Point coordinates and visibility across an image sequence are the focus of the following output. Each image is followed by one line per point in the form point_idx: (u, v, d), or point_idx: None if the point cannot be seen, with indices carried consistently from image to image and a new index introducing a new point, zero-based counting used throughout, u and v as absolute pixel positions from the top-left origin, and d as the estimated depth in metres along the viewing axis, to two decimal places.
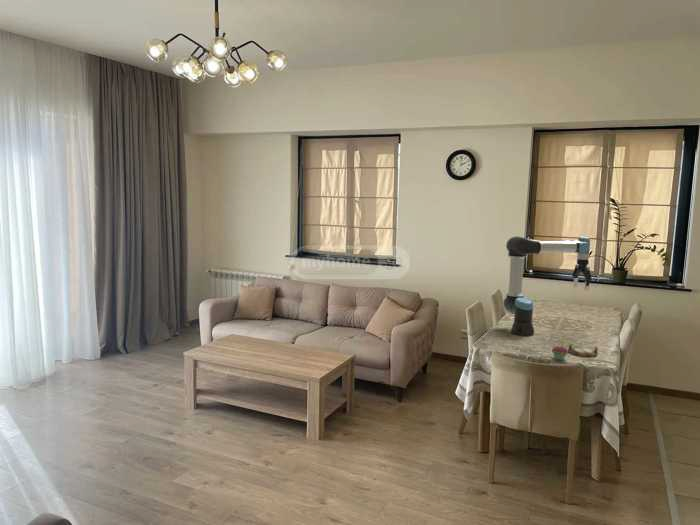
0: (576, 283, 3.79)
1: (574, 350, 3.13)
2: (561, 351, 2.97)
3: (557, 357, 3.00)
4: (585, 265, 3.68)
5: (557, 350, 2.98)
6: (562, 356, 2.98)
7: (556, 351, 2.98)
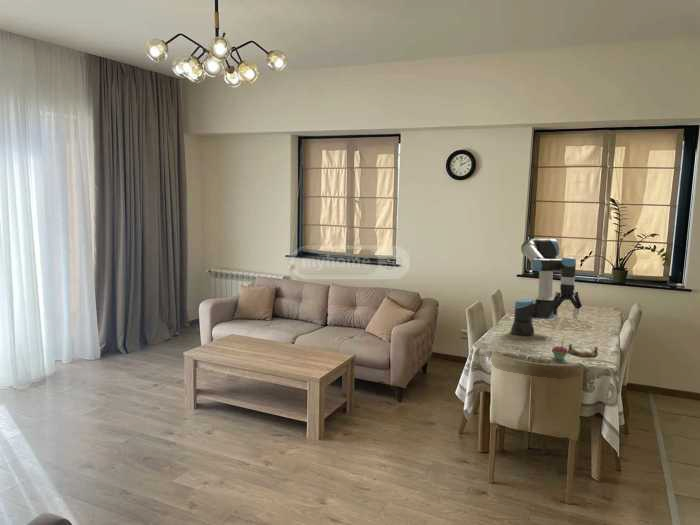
0: (575, 314, 3.10)
1: (574, 350, 3.13)
2: (561, 351, 2.97)
3: (557, 357, 3.00)
4: (561, 291, 3.06)
5: (557, 350, 2.98)
6: (562, 356, 2.98)
7: (556, 351, 2.98)
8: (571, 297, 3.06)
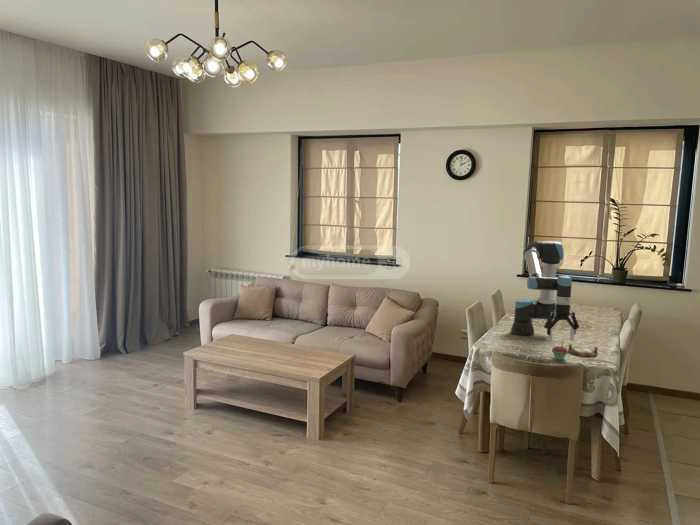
0: (572, 335, 3.00)
1: (574, 350, 3.13)
2: (561, 351, 2.97)
3: (557, 357, 3.00)
4: (556, 310, 2.97)
5: (557, 350, 2.98)
6: (562, 356, 2.98)
7: (556, 351, 2.98)
8: (567, 317, 2.97)
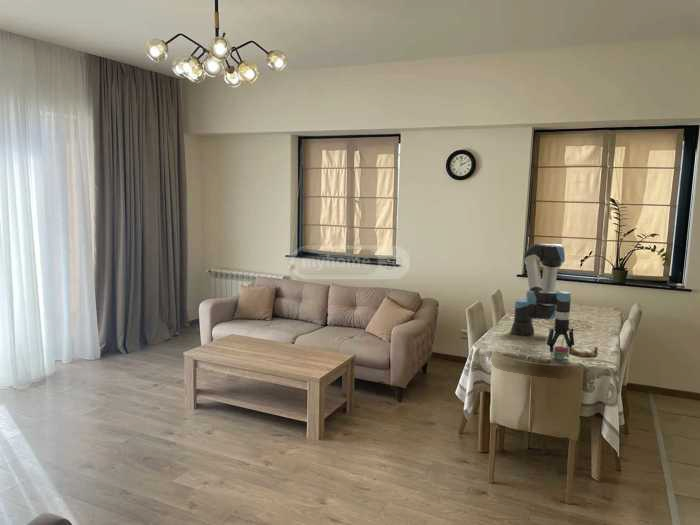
0: None
1: (574, 350, 3.13)
2: (561, 351, 2.97)
3: (557, 357, 3.00)
4: None
5: (557, 350, 2.98)
6: (562, 356, 2.98)
7: (556, 351, 2.98)
8: (565, 333, 2.98)
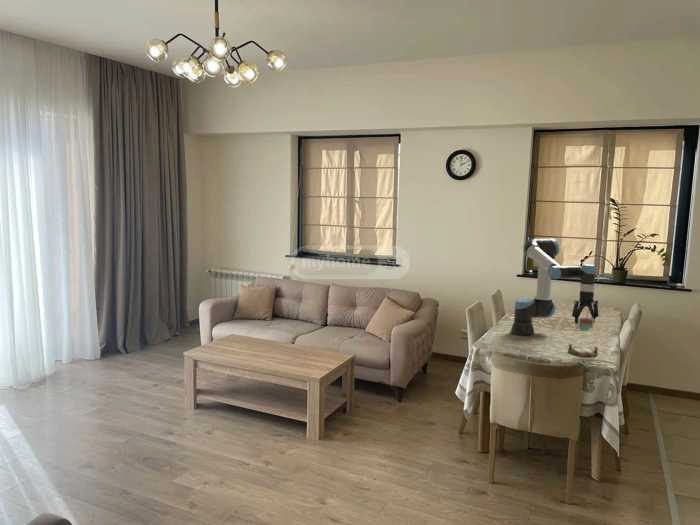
0: None
1: (574, 350, 3.13)
2: (586, 322, 3.07)
3: (582, 328, 3.09)
4: None
5: (582, 321, 3.08)
6: (587, 327, 3.08)
7: (581, 322, 3.08)
8: (590, 304, 3.08)
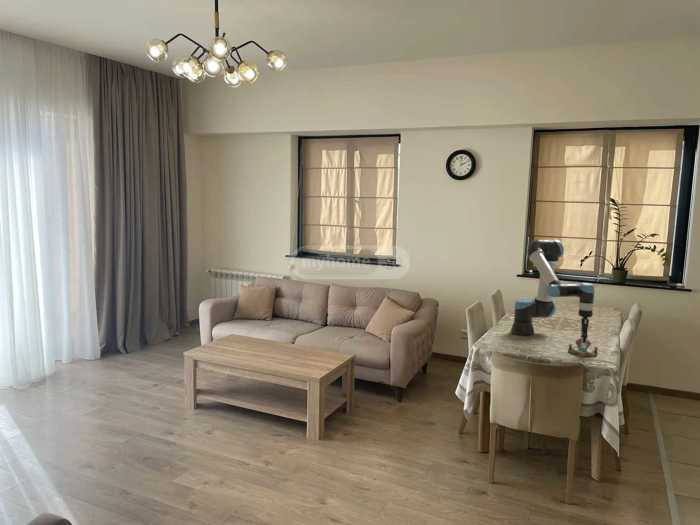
0: None
1: (574, 350, 3.13)
2: (589, 342, 3.10)
3: (585, 349, 3.10)
4: (585, 317, 3.07)
5: (587, 343, 3.09)
6: None
7: (587, 344, 3.08)
8: None
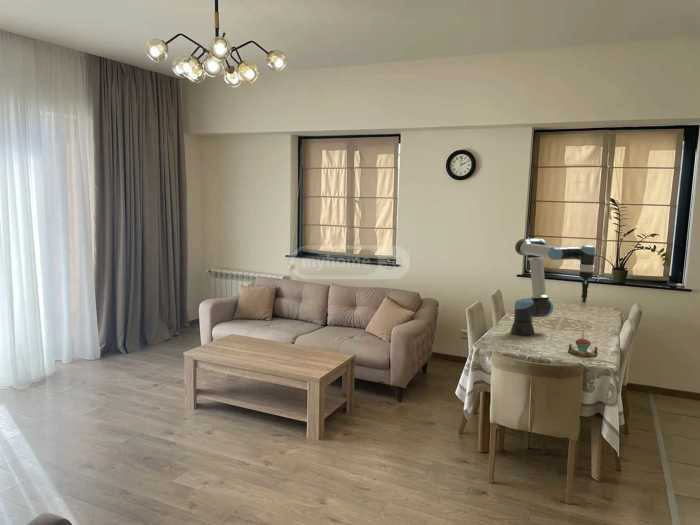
0: None
1: (574, 350, 3.13)
2: (589, 342, 3.10)
3: (585, 349, 3.10)
4: (585, 278, 3.15)
5: (587, 342, 3.09)
6: None
7: (587, 344, 3.08)
8: None
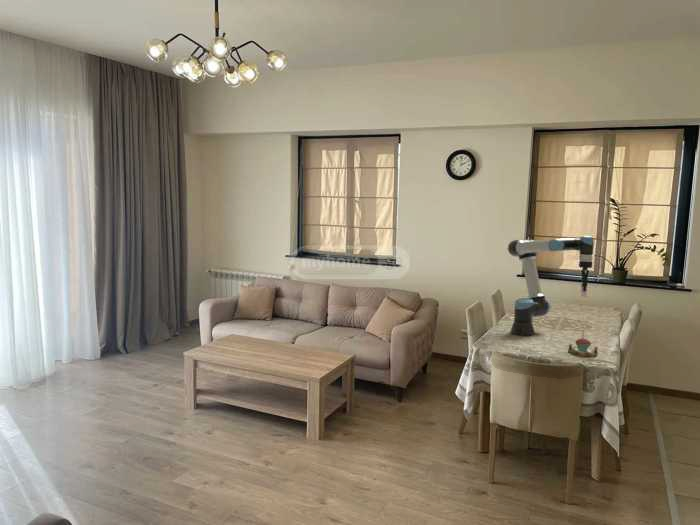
0: None
1: (574, 350, 3.13)
2: (589, 342, 3.10)
3: (585, 349, 3.10)
4: (585, 268, 3.24)
5: (587, 342, 3.09)
6: None
7: (587, 344, 3.08)
8: None
